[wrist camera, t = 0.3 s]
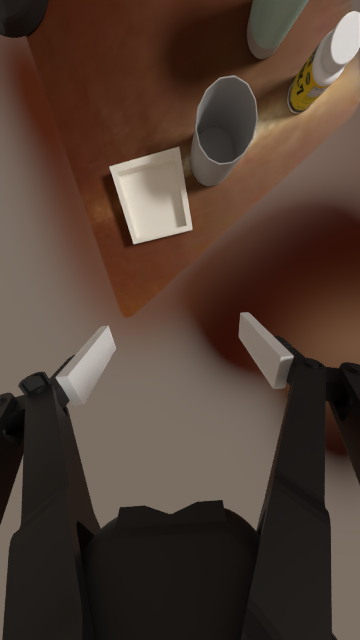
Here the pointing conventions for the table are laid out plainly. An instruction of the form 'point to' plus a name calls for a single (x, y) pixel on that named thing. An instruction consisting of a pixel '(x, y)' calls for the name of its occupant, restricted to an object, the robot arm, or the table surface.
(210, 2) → the table surface
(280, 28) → the coffee cup
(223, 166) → the cup
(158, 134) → the table surface
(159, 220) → the tray
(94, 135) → the table surface
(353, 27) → the supplement bottle
